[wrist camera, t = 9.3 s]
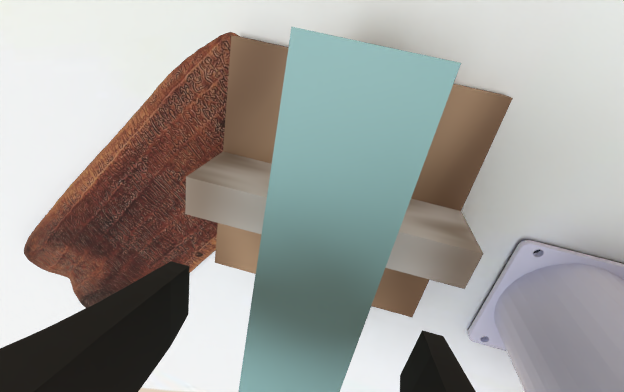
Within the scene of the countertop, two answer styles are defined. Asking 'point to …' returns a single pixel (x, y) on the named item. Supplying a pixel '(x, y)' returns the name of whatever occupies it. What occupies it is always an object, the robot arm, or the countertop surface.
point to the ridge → (422, 207)
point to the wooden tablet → (141, 187)
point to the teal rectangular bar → (335, 202)
